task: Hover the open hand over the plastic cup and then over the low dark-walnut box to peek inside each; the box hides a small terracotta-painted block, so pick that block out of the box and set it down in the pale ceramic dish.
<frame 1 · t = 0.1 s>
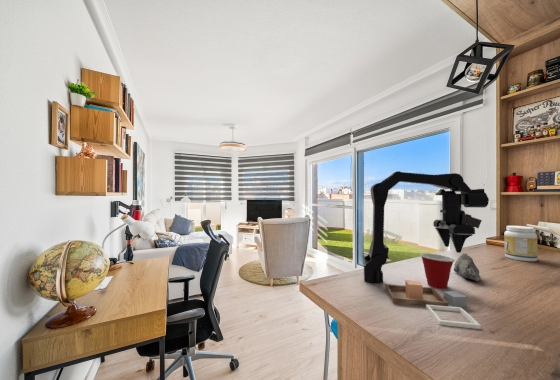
hand: (452, 249, 85), 15 cm above the table, fingers open, 9 cm apart
terracotta block: (413, 297, 76), point 1 cm above the table, touching walnut box
walnut box: (414, 300, 76), on the table
slate rubber block: (455, 306, 72), on the table
plastic cup: (437, 288, 86), on the table
supplement tub: (520, 259, 122), on the table
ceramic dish: (450, 320, 64), on the table
mineral rock: (466, 278, 96), on the table
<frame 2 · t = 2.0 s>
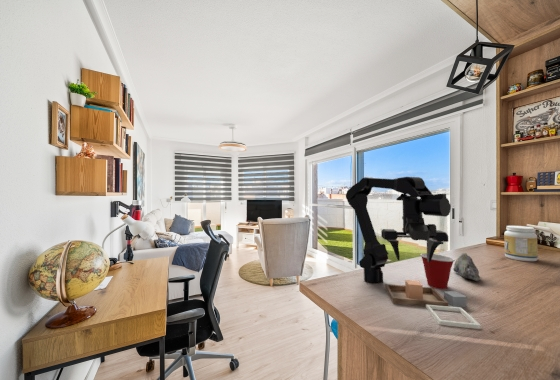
hand: (413, 260, 76), 13 cm above the table, fingers open, 9 cm apart
nothing on the table moved.
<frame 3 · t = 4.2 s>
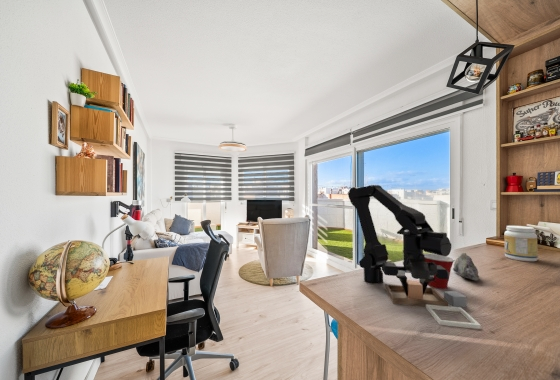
hand: (413, 296, 76), 1 cm above the table, fingers closed on terracotta block, 4 cm apart
terracotta block: (413, 297, 76), point 1 cm above the table, touching gripper, walnut box
everything else where it was.
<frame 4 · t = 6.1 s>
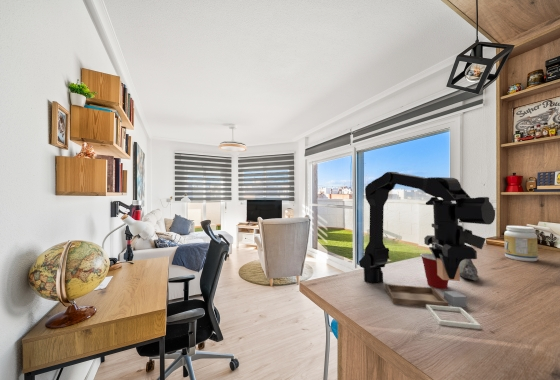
hand: (448, 276, 65), 12 cm above the table, fingers closed on terracotta block, 4 cm apart
terracotta block: (448, 277, 65), point 12 cm above the table, touching gripper
everything else where it was.
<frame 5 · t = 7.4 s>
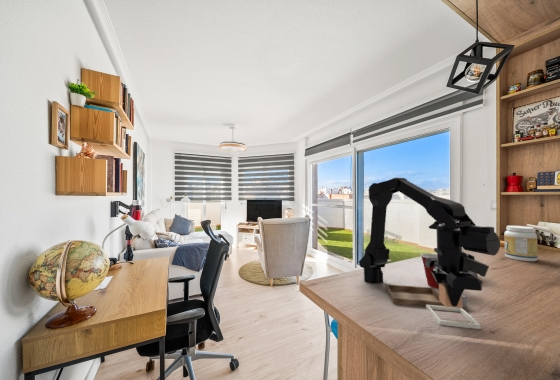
hand: (450, 302, 64), 5 cm above the table, fingers closed on terracotta block, 4 cm apart
terracotta block: (450, 304, 64), point 4 cm above the table, touching gripper
everything else where it was.
when the fingers open (2 cm above the table, at t = 8.2 s): terracotta block drops 2 cm, resting on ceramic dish.
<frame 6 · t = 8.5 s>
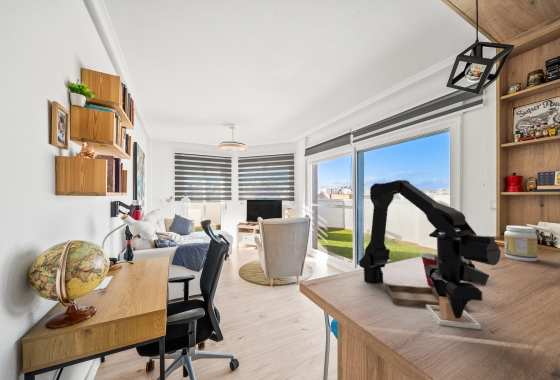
hand: (450, 311, 64), 2 cm above the table, fingers open, 7 cm apart
terracotta block: (450, 318, 64), resting on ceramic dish
everything else where it was.
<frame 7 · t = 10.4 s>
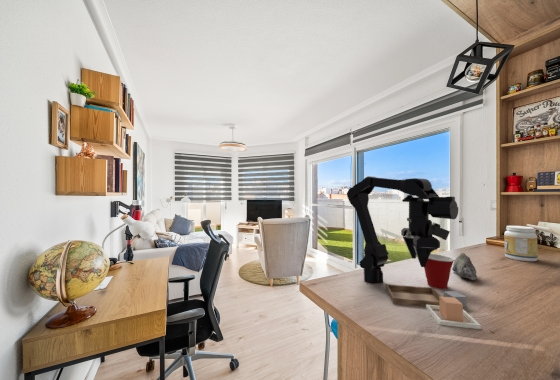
hand: (418, 262, 77), 12 cm above the table, fingers open, 9 cm apart
nothing on the table moved.
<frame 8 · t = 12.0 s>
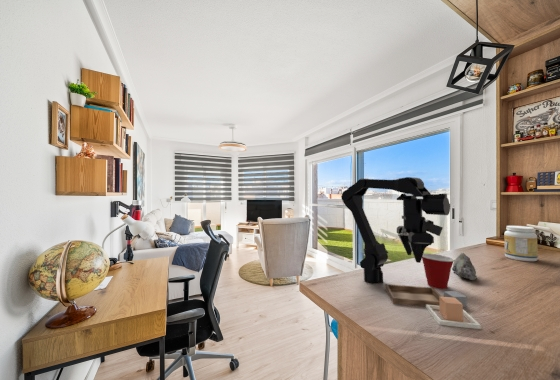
hand: (413, 258, 79), 13 cm above the table, fingers open, 9 cm apart
nothing on the table moved.
at the end: terracotta block 0.0 cm from the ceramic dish (horizontally); terracotta block point 0.5 cm above the table; the gripper is holding nothing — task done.
